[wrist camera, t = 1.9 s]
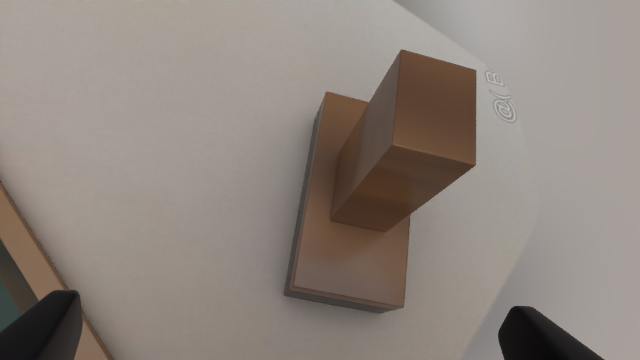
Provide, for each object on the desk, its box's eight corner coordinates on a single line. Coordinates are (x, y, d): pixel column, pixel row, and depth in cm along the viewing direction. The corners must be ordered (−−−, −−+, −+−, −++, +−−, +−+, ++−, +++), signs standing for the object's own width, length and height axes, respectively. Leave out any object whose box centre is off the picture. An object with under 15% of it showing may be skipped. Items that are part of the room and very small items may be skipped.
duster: (381, 314, 24) (513, 276, 14) (283, 295, 24) (341, 240, 13) (396, 139, 29) (505, 8, 18) (314, 119, 28) (377, -31, 17)
